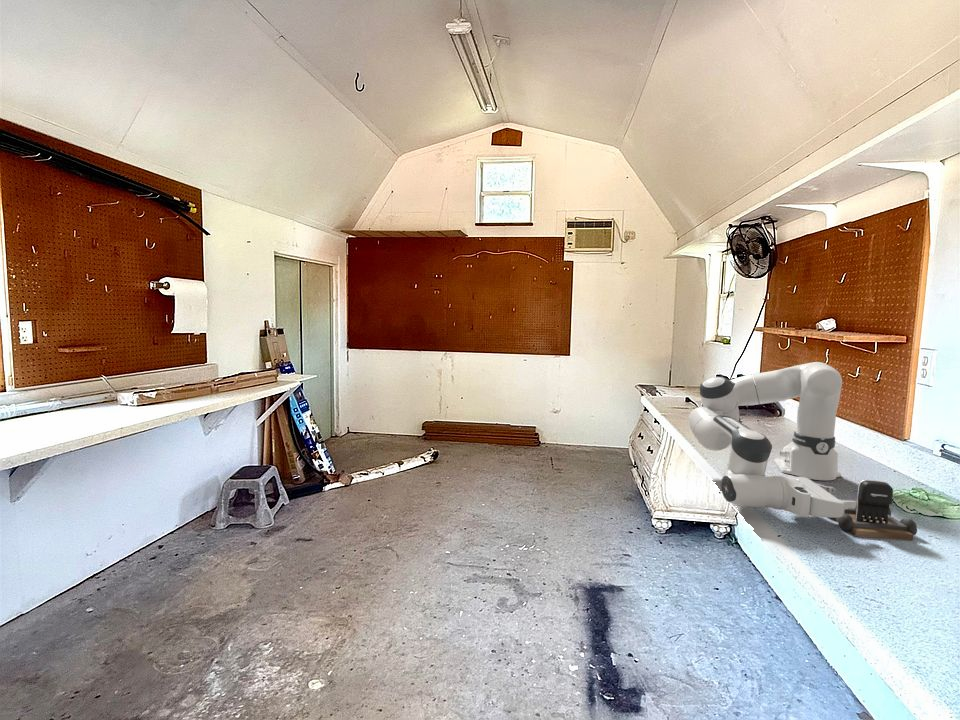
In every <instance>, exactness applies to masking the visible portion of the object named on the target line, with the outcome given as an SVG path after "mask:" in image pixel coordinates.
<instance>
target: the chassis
mask: <svg viewBox="0 0 960 720" xmlns="http://www.w3.org/2000/svg"><path fill="white" fill-rule="evenodd" d="M840 500H841V501H846V500H847V499H840ZM851 500H852V499H851ZM852 501H854V502H856V508H855V509H850V508H848V509H845V512H844V516H842V517H840V518H832V519H833V520H834V521H836V522H837V524H838V527H839V528H841V529H842V530H841V529H840V530H841V531H847V532H850V533H851V534H853V535H854V536H855V537H859V538H860V537H864V538H865V537H866V538H873V537H875V538H876V539H886V538H888V540H899V539H900V540H899V541H912V540H913V541H914V538H915V536H916V535H917V533H918V525H917V523H916V521H914V519H911V518H901V519H900V521H899V520H898V519H896V518H894V517H892V510H891V507H890V506H889V511H888V524H884V523H870V522H858V521H857V520H856V519H855V517H856V509H857V500H852Z"/></svg>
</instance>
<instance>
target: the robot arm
mask: <svg viewBox="0 0 960 720" xmlns="http://www.w3.org/2000/svg"><path fill="white" fill-rule="evenodd" d="M842 386H843V378H842V376H841V373H840V372H839V371H838V370H837V369H836V368H835V367H833V366H830V365H829V364H827V363H825V362H821V361H814V362H807V363H801V364H797V365H793V366H790V367H785V368H781V369H776V370H771V371H765V372H758V373H757V372H756V373H753V374H745V375H742V376H739V377H736V378H732V379H728V378H726V377H723V376H711V377H708V378H706V379H704V380H703V381H702V382H701V383H700V384H699V395H700V398H701V404H702V406H699V407H698V406H697V407H695V408H694V409H692V410H691V412H689V415H688V420H687V421H688V426H689V428H690V430H691V432H692V434H693V436H694V438H695V439H696V440H697V442H698V443H699V445H701V446H702V447H703V448H704V449H706V450H709V451H712V452H713V451H714V452H716V451H722V450H725V449H727V448H728V447H730V453H729V458H728V463H727V468H726V471H725V475H724V476H723V477H722V478H721V482H720V489H721V493H722V496H723V498H724V500H725V501H726V502H728V503H730V504H733V505H736V506H740V507H741V506H742V507H746V508H747V507H749V508H757V509H762V508H771V509H775V510H782V511H783V510H784V511H786V512H789V513H792V514H794V515H796V516H798V517H801V518H809V517H810V516H812V517H816V518H832V519H833V518H840V517H842V516H844V512H845V509H848V508H850V509H855V508H856V502H854V501H855V500H853V501H852V499H845V500H846V501H841V500H842V499H839V498H837V497H836V496H835V495H836V493H837V490H836V488H834V487H833V486H826V485H822V484H819V483H816V482H814V481H815V480H816V481H833V480H836V479H837V478H840V477H841V476H842V473H841V472H839V470H838V469H839V468H838V467H839V463H838V461H839V460H838V459H839V458H838V457H839V456H838V454H839V453H838V451H836V450H835V447H836V437H835V429H836V417H837V412H838V407H839V403H840V400H841V393H842ZM796 398H799V403H798V406H797V407H798V408H797V415H796V424H795V425H796V427H795V431H793V435H792V439H791V442H789V443H787V445H785V446H783V448H782V450H779V457H776V458H774V459H773V462H774V463H775V465H776V466H777V468H778V469H779V471H781V473H784V474H790V475H793V476H784V475H783V476H782V475H781V476H780V475H771V476H766V472H767V471H766V470H767V468H768V467H767V466H768V462H769V458H770V455H771V452H772V449H773V444H772V443H771V441H770V439H768V437H767V436H766V435H764V434H763V433H761V432H759V431H757V430H754V429H751V428H750V427H748V426H747V425H746V424H744V423H742V420H741V416H740V411H739V407H740V406H745V407H746V406H755V405H756V406H757V405H764V404H772V403H778V402H784V401H785V402H786V401H788V400H791V399H796ZM813 480H814V481H813Z"/></svg>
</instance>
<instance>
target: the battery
mask: <svg viewBox="0 0 960 720" xmlns="http://www.w3.org/2000/svg"><path fill="white" fill-rule="evenodd" d="M893 498H894V489H893V487H892V486H891V485H890V484H889V483H887V482H886V481H882V480H874V479H862V480H860V481H859V483H858V485H857V492H856V501H857V509H856V517H855V519H856V520H857V521H858V522H870V523H884V524H888V511H889V507H890V506H891V505H893Z"/></svg>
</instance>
